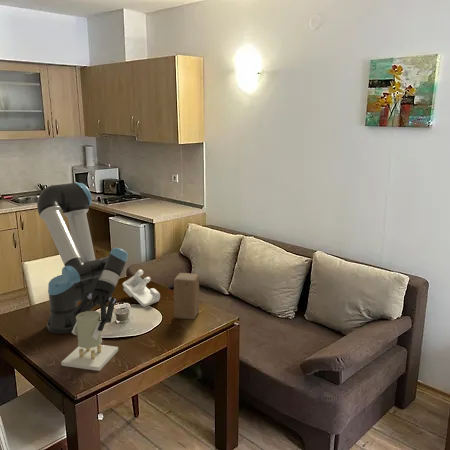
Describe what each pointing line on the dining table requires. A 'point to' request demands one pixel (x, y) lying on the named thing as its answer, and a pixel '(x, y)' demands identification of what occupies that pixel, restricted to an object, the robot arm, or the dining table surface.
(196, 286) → the wooden block
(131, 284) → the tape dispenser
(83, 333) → the can
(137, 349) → the dining table surface
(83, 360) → the standoff plate
